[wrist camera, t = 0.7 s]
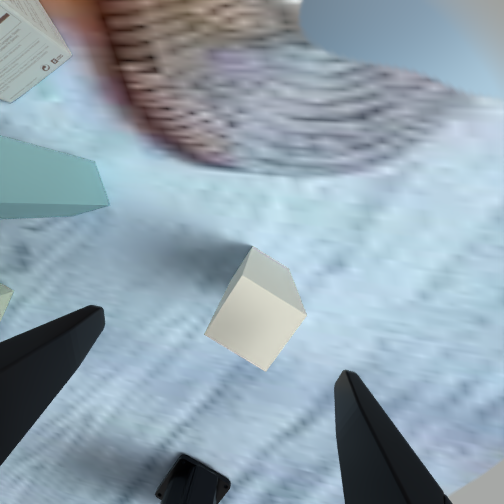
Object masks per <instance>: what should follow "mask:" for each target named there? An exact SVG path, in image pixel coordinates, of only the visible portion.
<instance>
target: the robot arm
mask: <svg viewBox="0 0 504 504" xmlns="http://www.w3.org/2000/svg"><path fill="white" fill-rule="evenodd" d="M104 326H105V317H104V309H103V308H102V307H99V306H96V305H89V306H86V307H84V308H82V309H79V310H77V311H74V312H72V313H70V314H67V315H65V316H62V317H60V318H58V319H55V320H53V321H50V322H48V323H46V324H43V325H41V326H38V327H36V328H34V329H31V330H29V331H26V332H24V333H22V334H19V335H17V336H14V337H12V338H10V339H7V340H5V341H2V342H0V466H1V465H2V463H3V462H4V461H5V460H6V458H7V457H8V456H9V454H10V453H11V452H12V451H13V449H14V448H15V447H16V446H17V444H18V443H19V442H20V441H21V439H22V438H23V437H24V436H25V434H26V433H27V432H28V431H29V429H30V428H31V427H32V426H33V424H34V423H35V422H36V421H37V419H38V418H39V417H40V415H41V414H42V413H43V412H44V410H45V409H46V408H47V407H48V405H49V404H50V403H51V402H52V400H53V399H54V398H55V397H56V395H57V394H58V393H59V392H60V390H61V389H62V388H63V387H64V385H65V384H66V383H67V381H68V380H69V379H70V378H71V376H72V375H73V374H74V373H75V371H76V370H77V369H78V367H79V366H80V364H81V363H82V361H83V360H84V358H85V357H86V355H87V354H88V352H89V351H90V349H91V348H92V346H93V344H94V343H95V341H96V340H97V338H98V337H99V335H100V334H101V332H102V331H103V329H104ZM334 397H335V424H336V439H337V448H338V455H339V462H340V470H341V477H342V484H343V492H344V499H345V504H452V502H451V501H450V500H449V498H448V497H447V496H446V495H445V494H444V492H443V490H442V489H441V488H440V486H439V485H438V483H437V482H436V481H435V479H434V478H433V477H432V475H431V474H430V473H429V471H428V470H427V468H426V467H425V466H424V464H423V463H422V462H421V460H420V459H419V458H418V456H417V455H416V453H415V452H414V451H413V449H412V448H411V447H410V445H409V444H408V443H407V441H406V440H405V438H404V437H403V436H402V434H401V433H400V432H399V430H398V429H397V428H396V426H395V425H394V424H393V422H392V421H391V419H390V418H389V417H388V415H387V414H386V413H385V411H384V410H383V409H382V407H381V406H380V404H379V403H378V402H377V400H376V399H375V398H374V396H373V395H372V394H371V392H370V391H369V389H368V388H367V387H366V385H365V384H364V383H363V381H362V380H361V379H360V377H359V376H358V375H357V374H356V373H355V372H353V371H349V370H343V371H342V373H341V375H340V376H339V378H338V380H337V381H336V383H335V387H334ZM230 486H231V482H230V480H228V479H226V478H225V477H223V476H221V475H219V474H218V473H216V472H214V471H212V470H211V469H209V468H207V467H205V466H204V465H202V464H200V463H198V462H197V461H195V460H193V459H191V458H190V457H188V456H186V455H181V456H180V457H179V459H178V460H177V462H176V463H175V464H174V466H173V467H172V469H171V470H170V472H169V473H168V474H167V476H166V477H165V479H164V480H163V482H162V483H161V484H160V486H159V487H158V489H157V491H156V494H155V495H156V497H157V498H159V499H161V500H162V501H161V504H218V503H219V502H220V501H221V499H222V498H223V497H224V495H225V494H226V493H227V492H228V490H229V489H230Z"/></svg>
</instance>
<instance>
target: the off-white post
mask: <svg viewBox="0 0 504 504" xmlns="http://www.w3.org/2000/svg"><path fill="white" fill-rule="evenodd" d="M306 316H307V314H306V311H305V309H304V306H303V304H302V301H301V298H300V296H299V293H298V291H297V288H296V285H295V283H294V280H293V278H292V275H291V273H290V270H289V268H287V267H286V266H284V265H282V264H281V263H279V262H278V261H276V260H274V259H273V258H271V257H270V256H268V255H267V254H265V253H263V252H262V251H260V250H259V249H257V248H255V247H254V246H252V248H251V249H250V251H249V252H248V254H247V256H246V257H245V259H244V260H243V262H242V263H241V265H240V267H239V268H238V270H237V271H236V273H235V274H234V276H233V278H232V279H231V281H230V283H229V285H228V287H227V289H226V291H225V293H224V295H223V297H222V299H221V301H220V303H219V305H218V307H217V309H216V311H215V313H214V315H213V317H212V319H211V321H210V323H209V325H208V327H207V330H206V332H205V334H204V335H206V336H207V337H209V338H211V339H212V340H214V341H216V342H217V343H219V344H221V345H222V346H224V347H226V348H227V349H229V350H231V351H232V352H234V353H235V354H237V355H239V356H240V357H242V358H244V359H245V360H247V361H249V362H250V363H252V364H254V365H255V366H257V367H259V368H260V369H262V370H264V371H265V372H266V371H267V369H268V368H269V367H270V365H271V364H272V363H273V361H274V360H275V358H276V357H277V356H278V354H279V353H280V352H281V350H282V349H283V348H284V346H285V345H286V343H287V342H288V341H289V339H290V338H291V337H292V335H293V334H294V332H295V331H296V330H297V328H298V327H299V326H300V324H301V323H302V322H303V320H304V319H305V317H306Z"/></svg>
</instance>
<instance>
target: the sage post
mask: <svg viewBox="0 0 504 504" xmlns="http://www.w3.org/2000/svg"><path fill="white" fill-rule="evenodd" d="M13 292H14V291H13V290H11V289H10V288H8V287H6V286H5V285H3V284H1V283H0V321H1V319H2V317H3V314H4V312H5V310H6V308H7V305H8V303H9V301H10V299H11V296H12V294H13Z"/></svg>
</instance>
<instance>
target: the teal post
mask: <svg viewBox="0 0 504 504" xmlns="http://www.w3.org/2000/svg"><path fill="white" fill-rule="evenodd" d="M109 205H110V203H109V200H108V198H107V195H106V192H105V189H104V186H103V183H102V181H101V178H100V175H99V172H98V169H97V166H96V164H95V162H94V161H91V160H87V159H84V158H80V157H76V156H73V155H69V154H66V153H62V152H58V151H55V150H51V149H48V148H44V147H40V146H37V145H33V144H29V143H26V142H22V141H19V140H15V139H11V138H8V137H4V136H1V135H0V219H17V218H43V217H69V216H75V215H78V214H82V213H85V212H89V211H92V210H96V209H99V208H102V207H106V206H109Z"/></svg>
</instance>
